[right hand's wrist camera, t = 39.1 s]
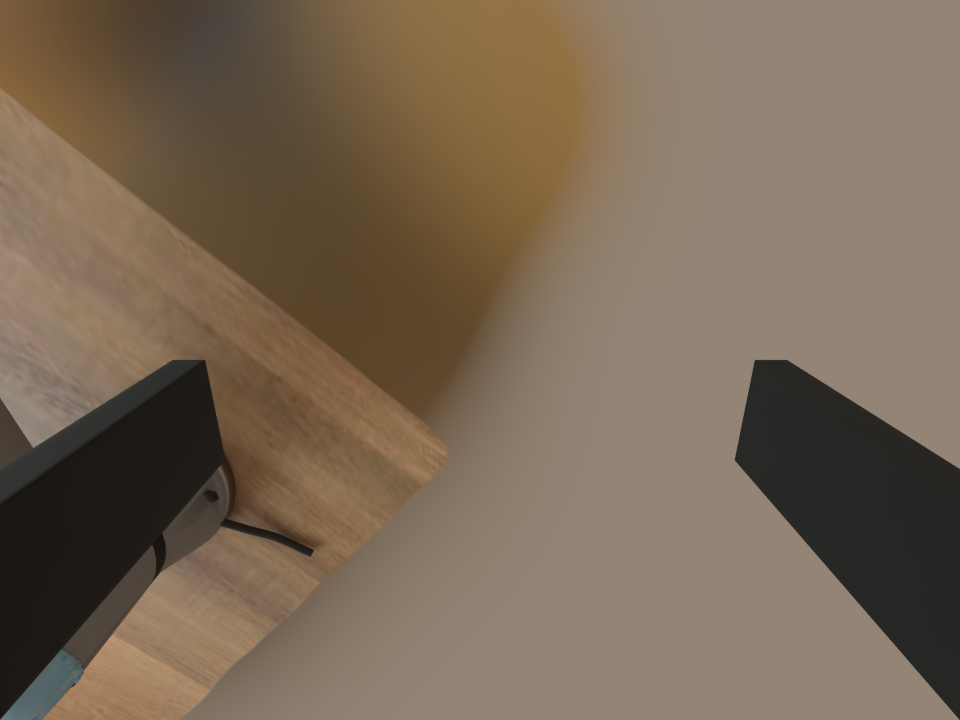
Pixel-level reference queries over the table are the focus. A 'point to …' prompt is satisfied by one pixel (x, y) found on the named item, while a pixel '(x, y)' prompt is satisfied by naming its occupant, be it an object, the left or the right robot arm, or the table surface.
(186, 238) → the table surface
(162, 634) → the table surface
